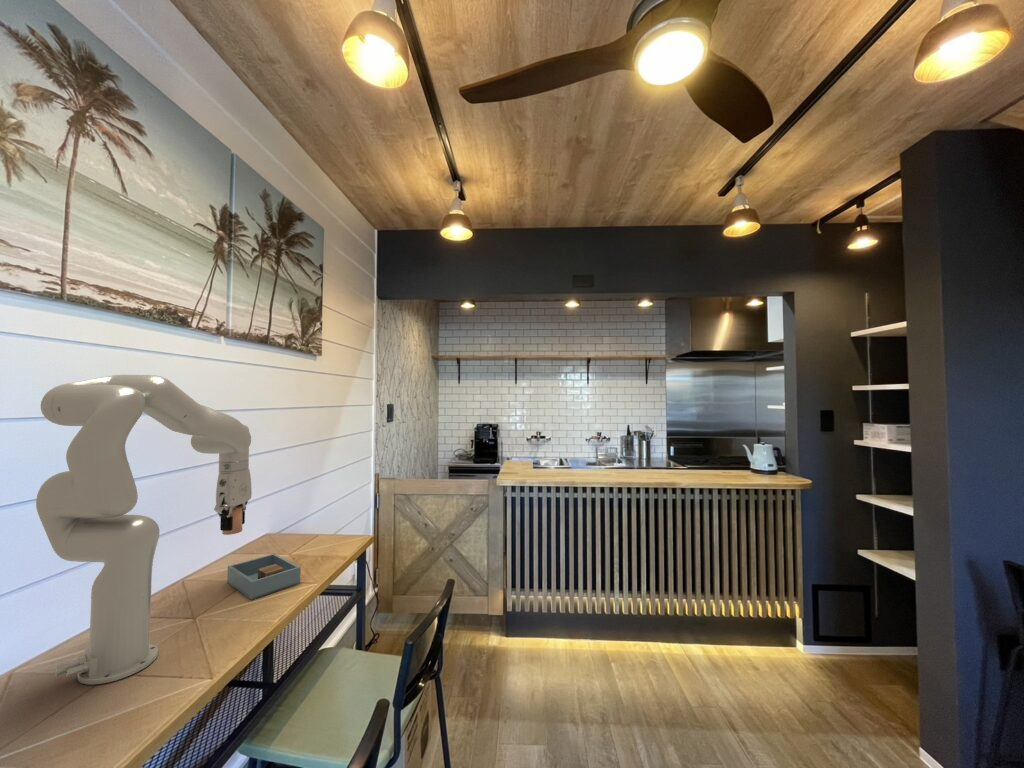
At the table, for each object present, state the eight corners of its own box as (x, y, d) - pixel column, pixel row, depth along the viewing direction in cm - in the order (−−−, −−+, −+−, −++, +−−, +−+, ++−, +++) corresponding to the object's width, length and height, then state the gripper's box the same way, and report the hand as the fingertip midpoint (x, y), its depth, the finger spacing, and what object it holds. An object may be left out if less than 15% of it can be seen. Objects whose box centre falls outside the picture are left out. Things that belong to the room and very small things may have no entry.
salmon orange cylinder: (218, 533, 126) (218, 510, 126) (233, 528, 131) (233, 505, 131) (231, 535, 124) (231, 511, 124) (246, 529, 129) (246, 506, 129)
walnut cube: (257, 586, 127) (258, 569, 127) (275, 580, 131) (275, 563, 131) (265, 590, 124) (265, 573, 124) (282, 584, 128) (283, 568, 128)
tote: (251, 600, 119) (252, 582, 119) (227, 582, 130) (227, 566, 130) (300, 583, 130) (300, 567, 130) (274, 568, 141) (274, 553, 141)
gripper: (227, 472, 119) (226, 537, 119) (263, 461, 136) (262, 518, 136) (200, 471, 119) (199, 536, 119) (239, 461, 136) (238, 518, 136)
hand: (232, 526), depth 128 cm, fingers closed on salmon orange cylinder, 4 cm apart
